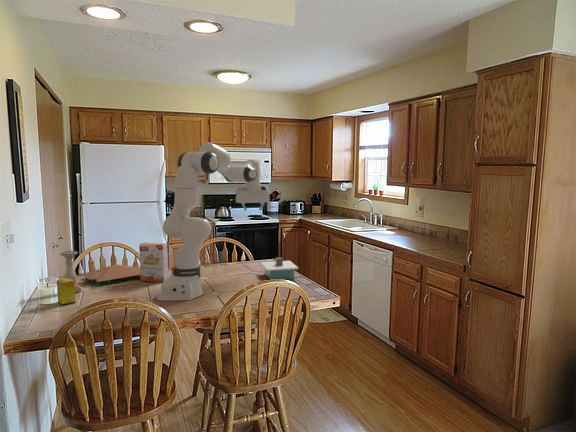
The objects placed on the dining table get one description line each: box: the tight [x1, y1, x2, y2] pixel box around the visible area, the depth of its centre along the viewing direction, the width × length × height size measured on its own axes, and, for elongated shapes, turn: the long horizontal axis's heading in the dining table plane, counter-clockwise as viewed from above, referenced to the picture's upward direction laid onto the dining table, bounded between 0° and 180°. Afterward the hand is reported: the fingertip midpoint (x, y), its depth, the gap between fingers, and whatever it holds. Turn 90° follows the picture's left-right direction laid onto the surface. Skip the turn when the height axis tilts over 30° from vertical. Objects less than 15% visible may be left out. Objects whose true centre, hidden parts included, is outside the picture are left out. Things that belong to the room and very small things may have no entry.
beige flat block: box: [84, 264, 140, 287], centre depth 233 cm, size 23×33×8 cm
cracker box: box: [138, 242, 169, 283], centre depth 228 cm, size 14×6×21 cm, turn 81°
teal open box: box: [264, 268, 295, 280], centre depth 239 cm, size 14×14×6 cm
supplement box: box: [56, 278, 76, 307], centre depth 190 cm, size 6×6×11 cm
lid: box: [260, 257, 299, 271], centre depth 238 cm, size 18×18×5 cm
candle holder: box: [60, 250, 82, 294], centre depth 206 cm, size 9×9×20 cm
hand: (252, 210), depth 249 cm, fingers open, 8 cm apart
